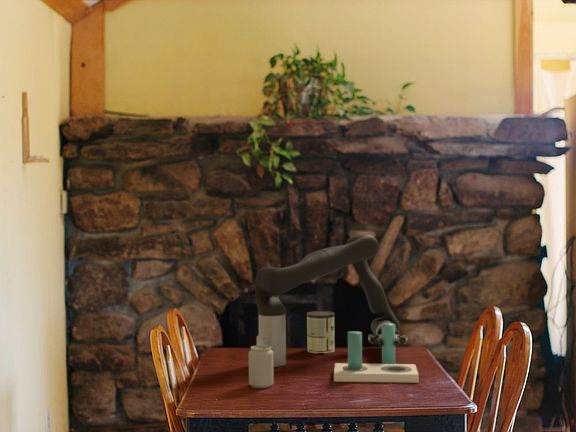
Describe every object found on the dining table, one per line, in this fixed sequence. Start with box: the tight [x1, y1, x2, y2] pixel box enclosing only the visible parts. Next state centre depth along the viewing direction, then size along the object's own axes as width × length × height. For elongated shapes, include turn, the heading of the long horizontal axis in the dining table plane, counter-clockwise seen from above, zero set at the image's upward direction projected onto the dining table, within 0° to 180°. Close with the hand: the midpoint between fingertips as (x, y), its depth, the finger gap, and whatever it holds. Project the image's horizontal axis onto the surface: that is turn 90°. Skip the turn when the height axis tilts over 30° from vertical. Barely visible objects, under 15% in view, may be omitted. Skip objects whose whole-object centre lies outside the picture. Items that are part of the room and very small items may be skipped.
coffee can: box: [306, 310, 335, 354], centre depth 285 cm, size 10×10×14 cm
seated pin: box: [347, 330, 363, 370], centre depth 245 cm, size 4×4×14 cm
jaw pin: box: [381, 323, 396, 364], centre depth 260 cm, size 4×4×14 cm
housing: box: [333, 362, 420, 384], centre depth 245 cm, size 14×26×3 cm, turn 85°
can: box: [248, 344, 274, 389], centre depth 234 cm, size 8×8×12 cm
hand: (388, 343), depth 257 cm, fingers closed on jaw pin, 4 cm apart
